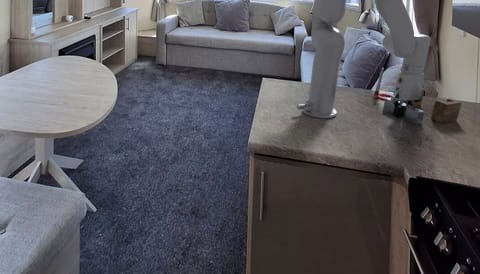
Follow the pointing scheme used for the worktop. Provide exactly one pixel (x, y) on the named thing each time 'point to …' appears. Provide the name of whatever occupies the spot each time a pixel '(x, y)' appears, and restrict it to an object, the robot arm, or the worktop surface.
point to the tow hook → (377, 94)
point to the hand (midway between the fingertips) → (401, 115)
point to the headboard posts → (442, 109)
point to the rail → (405, 111)
